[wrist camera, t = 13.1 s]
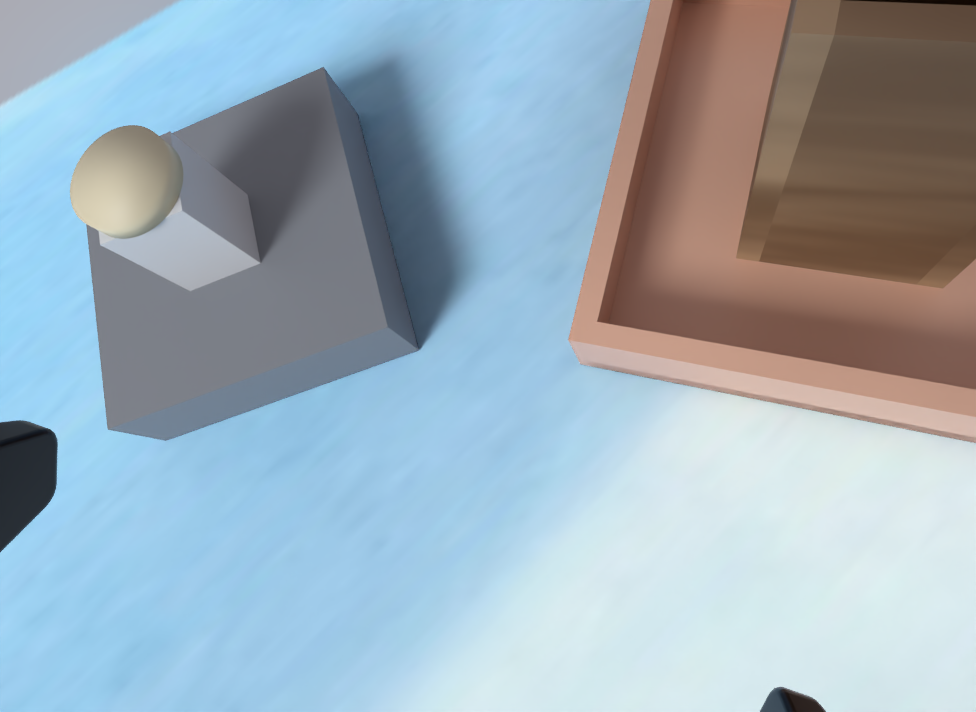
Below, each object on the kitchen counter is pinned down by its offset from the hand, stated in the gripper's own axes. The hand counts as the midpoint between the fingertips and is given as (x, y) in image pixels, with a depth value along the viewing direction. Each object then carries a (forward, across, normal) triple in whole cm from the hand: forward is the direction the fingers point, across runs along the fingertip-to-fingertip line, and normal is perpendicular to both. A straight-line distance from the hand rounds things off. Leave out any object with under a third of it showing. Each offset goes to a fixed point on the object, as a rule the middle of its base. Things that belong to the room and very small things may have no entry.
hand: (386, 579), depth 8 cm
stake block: (+14, +9, +2) cm, 17 cm away
